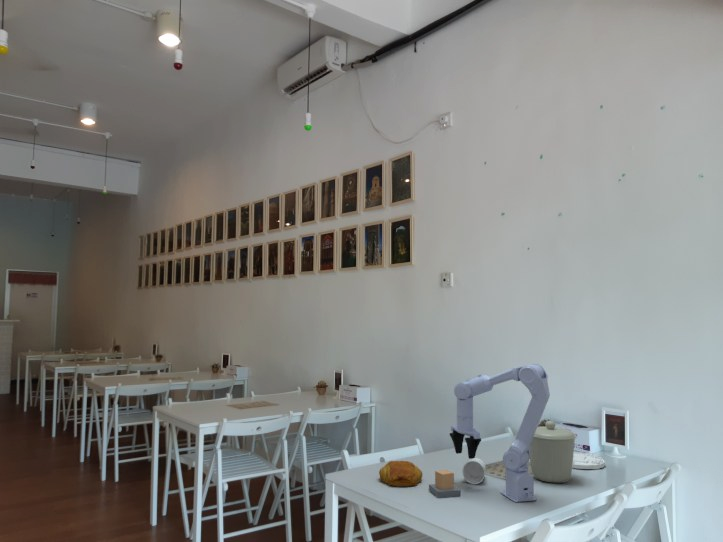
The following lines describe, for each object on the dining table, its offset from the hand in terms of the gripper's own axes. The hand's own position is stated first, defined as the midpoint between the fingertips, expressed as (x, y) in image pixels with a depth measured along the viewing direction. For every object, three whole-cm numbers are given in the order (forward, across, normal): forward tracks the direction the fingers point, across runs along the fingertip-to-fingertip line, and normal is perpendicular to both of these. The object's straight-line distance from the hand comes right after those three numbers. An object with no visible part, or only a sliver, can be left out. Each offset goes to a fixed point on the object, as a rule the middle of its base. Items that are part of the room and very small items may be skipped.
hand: (465, 455), depth 191 cm
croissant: (+11, +14, +18) cm, 25 cm away
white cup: (+7, +8, -11) cm, 15 cm away
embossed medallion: (+11, +6, -61) cm, 63 cm away
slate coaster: (+10, -4, +11) cm, 16 cm away
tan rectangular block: (+8, -4, +11) cm, 15 cm away
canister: (+11, -6, -35) cm, 37 cm away
